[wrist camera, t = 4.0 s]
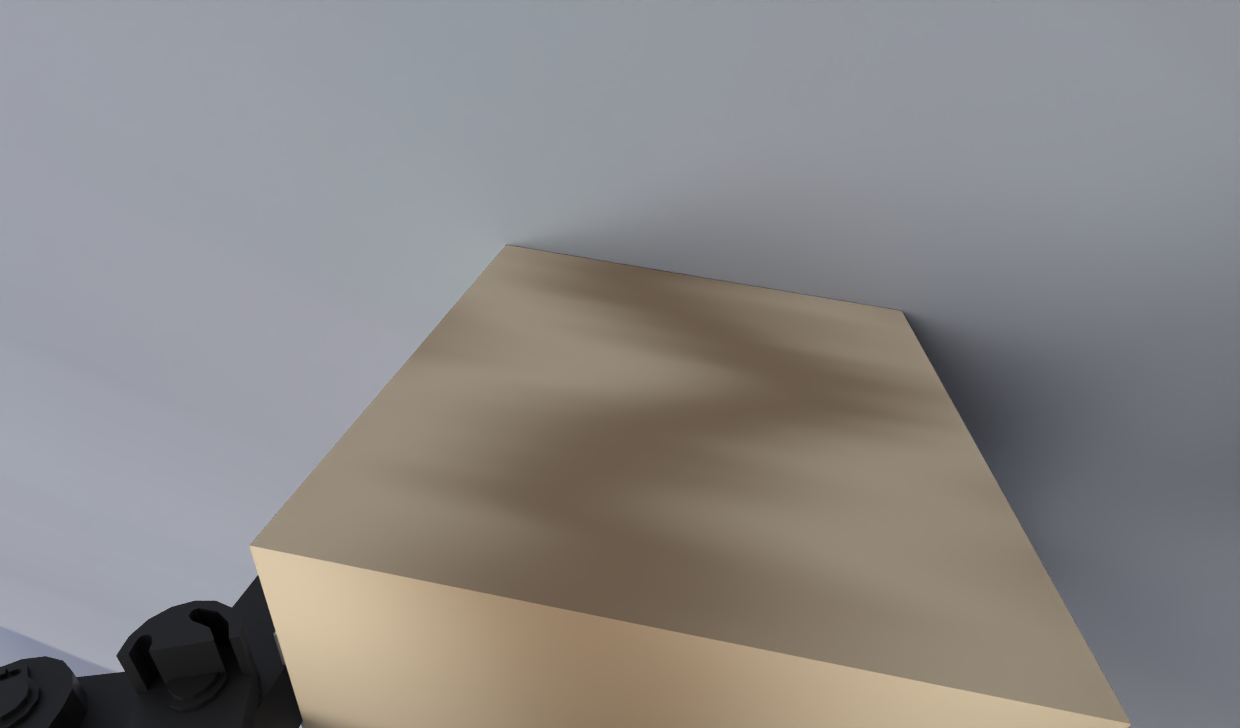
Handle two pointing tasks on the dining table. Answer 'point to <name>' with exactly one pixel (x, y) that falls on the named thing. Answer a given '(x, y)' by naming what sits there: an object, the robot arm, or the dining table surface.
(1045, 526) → the dining table surface
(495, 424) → the wooden plinth
